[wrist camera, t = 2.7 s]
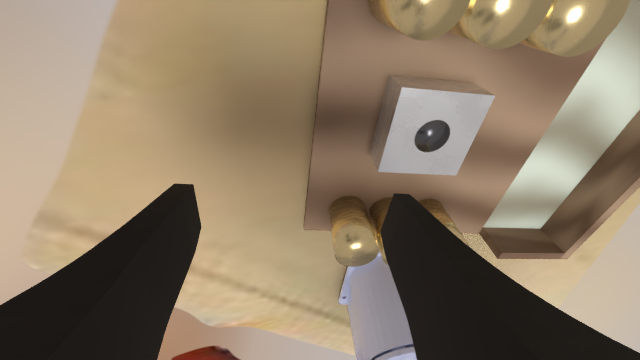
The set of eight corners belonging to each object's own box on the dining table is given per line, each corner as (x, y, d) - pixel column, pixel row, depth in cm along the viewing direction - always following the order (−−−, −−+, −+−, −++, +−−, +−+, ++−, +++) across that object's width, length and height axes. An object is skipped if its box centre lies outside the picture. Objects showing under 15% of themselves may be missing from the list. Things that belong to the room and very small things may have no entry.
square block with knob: (440, 157, 21) (456, 175, 19) (369, 153, 20) (377, 172, 18) (473, 82, 18) (495, 95, 16) (389, 74, 17) (401, 87, 15)
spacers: (435, 225, 25) (458, 266, 22) (326, 223, 24) (332, 266, 20) (561, -26, 14) (651, -26, 11) (374, -55, 13) (405, -67, 10)
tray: (538, 229, 28) (567, 259, 25) (303, 225, 25) (305, 257, 22) (733, -6, 16) (829, -2, 13) (335, -71, 13) (347, -84, 10)
